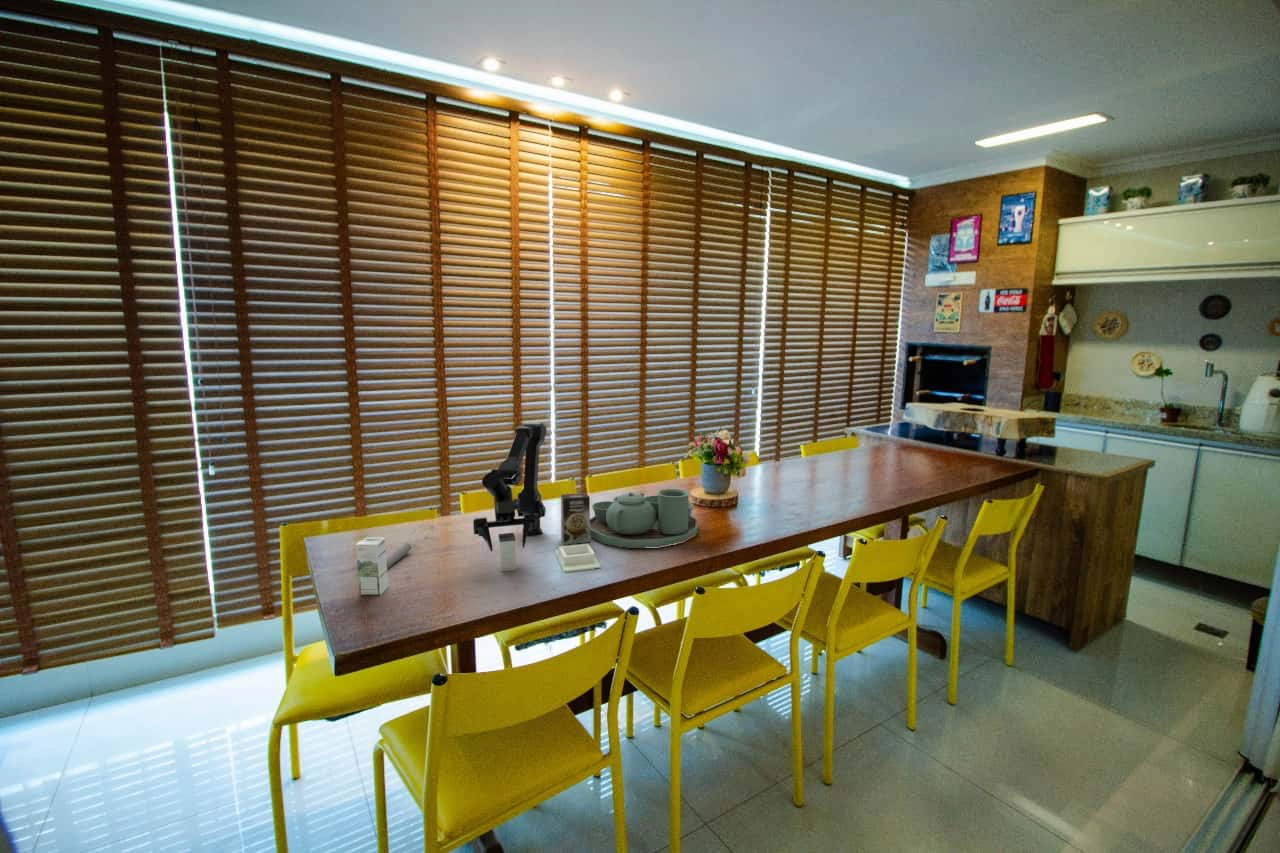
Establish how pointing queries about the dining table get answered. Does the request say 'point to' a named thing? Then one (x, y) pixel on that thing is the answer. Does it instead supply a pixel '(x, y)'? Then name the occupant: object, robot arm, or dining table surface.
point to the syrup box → (372, 566)
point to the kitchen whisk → (404, 549)
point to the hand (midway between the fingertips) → (507, 549)
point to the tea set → (644, 519)
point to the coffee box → (575, 518)
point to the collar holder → (577, 558)
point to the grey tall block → (507, 552)
